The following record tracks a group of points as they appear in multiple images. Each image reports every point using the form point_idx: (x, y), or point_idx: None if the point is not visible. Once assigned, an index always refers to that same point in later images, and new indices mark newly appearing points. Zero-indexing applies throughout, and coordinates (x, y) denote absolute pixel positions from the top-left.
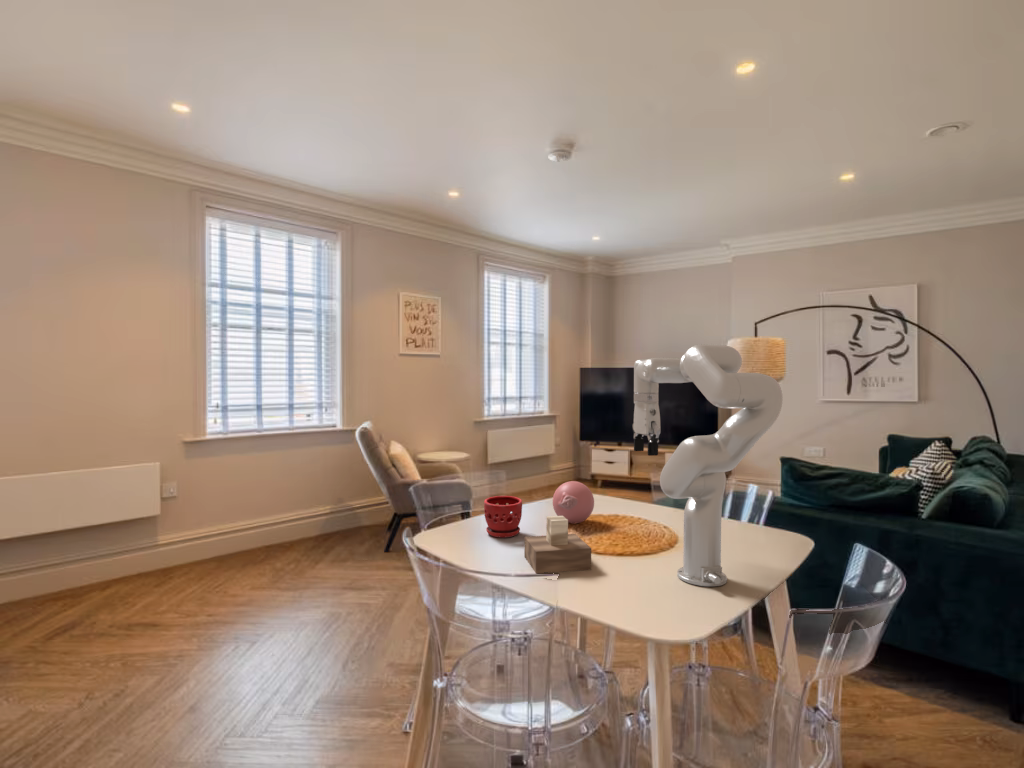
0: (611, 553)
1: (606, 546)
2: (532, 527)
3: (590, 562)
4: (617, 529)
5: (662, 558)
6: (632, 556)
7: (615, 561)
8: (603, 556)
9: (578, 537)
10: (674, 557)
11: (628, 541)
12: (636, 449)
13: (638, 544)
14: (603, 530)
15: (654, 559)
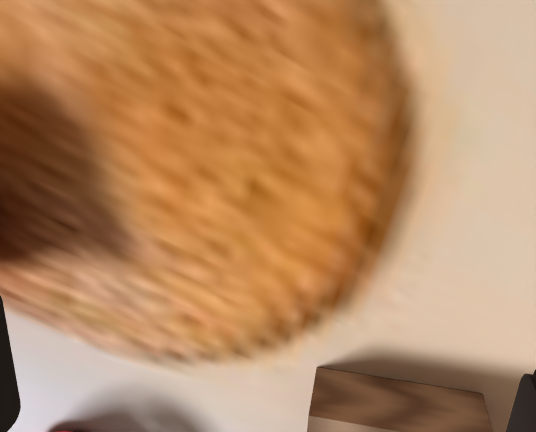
0: (352, 258)
1: (270, 236)
2: (18, 366)
3: (486, 412)
4: (58, 81)
5: (479, 97)
6: (410, 203)
7: (439, 288)
8: (374, 299)
9: (355, 426)
10: (488, 35)
11: (228, 121)
12: (4, 414)
13: (276, 99)
14: (68, 148)
15: (476, 138)
